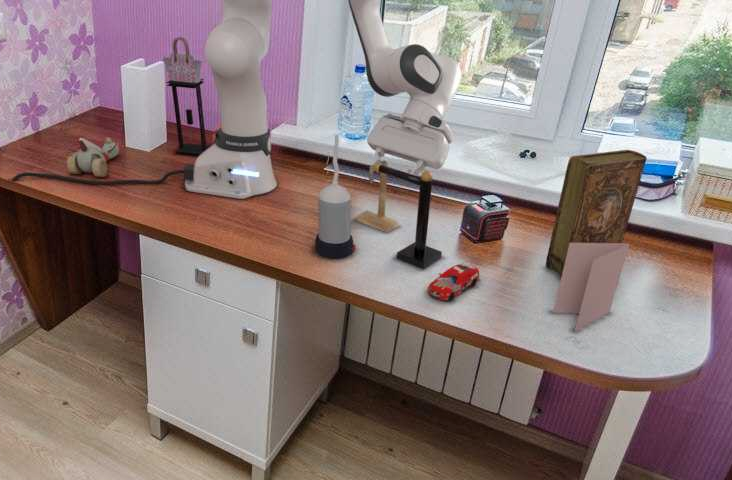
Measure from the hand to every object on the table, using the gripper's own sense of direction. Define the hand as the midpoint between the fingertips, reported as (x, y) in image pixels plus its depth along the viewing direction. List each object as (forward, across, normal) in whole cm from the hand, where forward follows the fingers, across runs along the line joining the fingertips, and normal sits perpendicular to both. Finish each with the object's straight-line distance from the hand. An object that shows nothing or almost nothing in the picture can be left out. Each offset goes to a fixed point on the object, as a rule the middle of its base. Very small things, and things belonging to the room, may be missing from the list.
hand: (392, 173), depth 149 cm
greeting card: (+16, +55, 0) cm, 57 cm away
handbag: (+10, -67, +6) cm, 68 cm away
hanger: (+12, 0, +4) cm, 12 cm away
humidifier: (+24, +1, -8) cm, 25 cm away
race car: (+21, +29, -5) cm, 36 cm away
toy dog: (+28, -74, -12) cm, 80 cm away
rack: (+17, +12, -1) cm, 21 cm away
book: (+2, +46, +14) cm, 48 cm away
